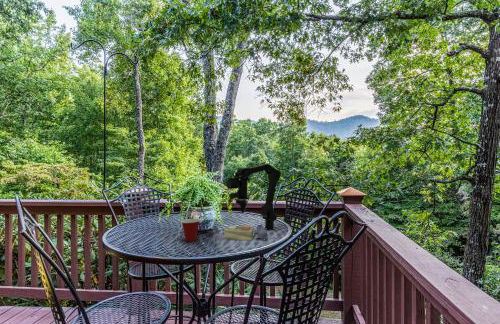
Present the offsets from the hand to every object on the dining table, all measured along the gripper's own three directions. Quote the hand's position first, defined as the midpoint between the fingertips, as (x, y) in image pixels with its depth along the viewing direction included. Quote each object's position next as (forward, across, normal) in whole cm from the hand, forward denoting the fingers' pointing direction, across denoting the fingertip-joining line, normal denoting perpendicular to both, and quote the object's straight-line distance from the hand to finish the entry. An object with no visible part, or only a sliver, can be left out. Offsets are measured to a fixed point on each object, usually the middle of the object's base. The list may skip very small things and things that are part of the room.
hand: (242, 212), depth 194 cm
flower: (+13, +10, +12) cm, 21 cm away
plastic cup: (+13, +18, -28) cm, 36 cm away
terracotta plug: (+11, +8, +3) cm, 14 cm away
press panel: (+13, +8, -1) cm, 15 cm away
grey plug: (+12, +8, -5) cm, 15 cm away
